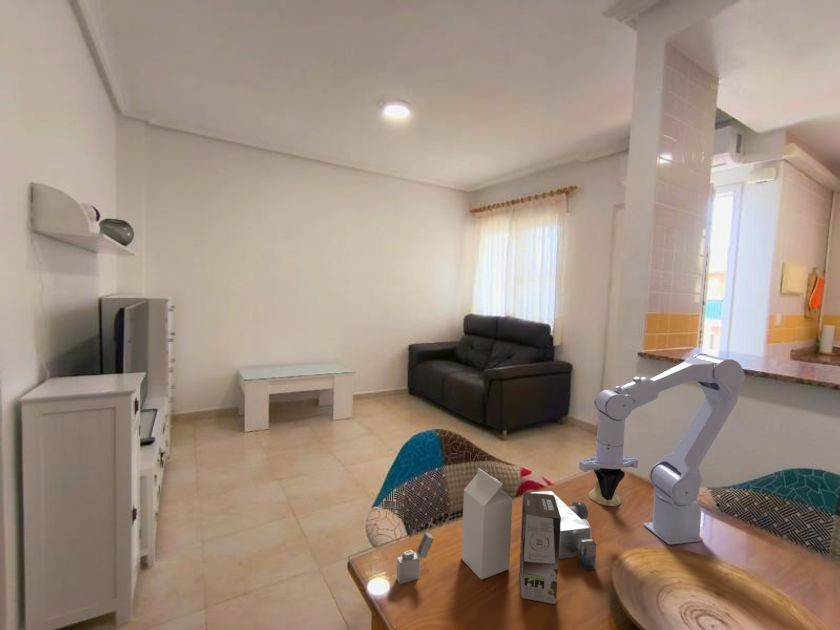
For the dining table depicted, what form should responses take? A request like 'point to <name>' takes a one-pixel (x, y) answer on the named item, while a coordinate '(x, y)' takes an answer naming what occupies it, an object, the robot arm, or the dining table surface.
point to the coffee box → (539, 547)
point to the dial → (587, 554)
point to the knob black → (579, 509)
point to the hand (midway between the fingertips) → (606, 498)
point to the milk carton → (486, 526)
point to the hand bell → (596, 497)
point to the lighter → (413, 560)
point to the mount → (569, 530)
